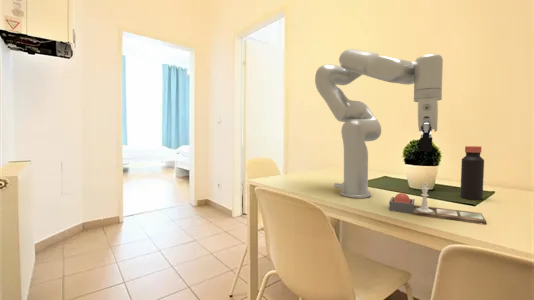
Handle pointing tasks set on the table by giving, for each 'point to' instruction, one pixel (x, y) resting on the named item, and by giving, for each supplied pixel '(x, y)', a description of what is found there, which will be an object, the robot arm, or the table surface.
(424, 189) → the chess piece
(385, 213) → the table surface
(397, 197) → the pop dome
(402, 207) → the dome housing
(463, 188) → the bottle
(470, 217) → the game board
